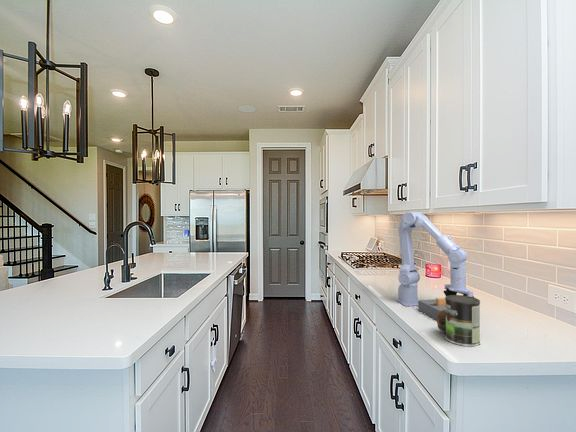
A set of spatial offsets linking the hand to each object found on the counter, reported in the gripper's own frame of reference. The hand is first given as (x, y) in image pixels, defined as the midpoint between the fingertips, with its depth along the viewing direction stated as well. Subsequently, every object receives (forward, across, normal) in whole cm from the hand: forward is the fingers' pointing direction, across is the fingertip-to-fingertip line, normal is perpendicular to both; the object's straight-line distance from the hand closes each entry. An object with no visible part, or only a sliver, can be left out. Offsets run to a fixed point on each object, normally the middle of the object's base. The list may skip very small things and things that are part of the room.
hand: (458, 309), depth 134 cm
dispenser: (+2, -1, -10) cm, 10 cm away
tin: (+2, +17, -15) cm, 23 cm away
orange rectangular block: (+1, 0, -4) cm, 4 cm away
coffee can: (+2, +24, -19) cm, 31 cm away
